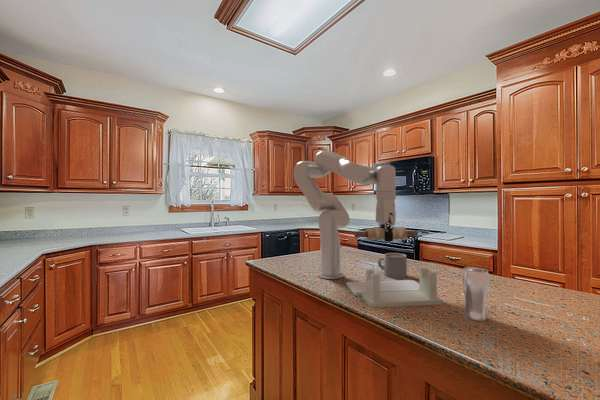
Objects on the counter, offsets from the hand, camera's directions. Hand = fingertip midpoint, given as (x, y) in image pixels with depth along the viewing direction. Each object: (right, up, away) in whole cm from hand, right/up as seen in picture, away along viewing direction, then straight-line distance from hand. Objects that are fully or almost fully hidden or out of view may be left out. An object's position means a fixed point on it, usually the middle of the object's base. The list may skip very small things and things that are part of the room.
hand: (385, 239), depth 114 cm
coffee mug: (+9, -20, +20) cm, 30 cm away
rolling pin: (0, 0, +1) cm, 1 cm away
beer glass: (+20, -21, -27) cm, 39 cm away
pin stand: (+1, -20, -13) cm, 24 cm away
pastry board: (0, -20, 0) cm, 20 cm away
